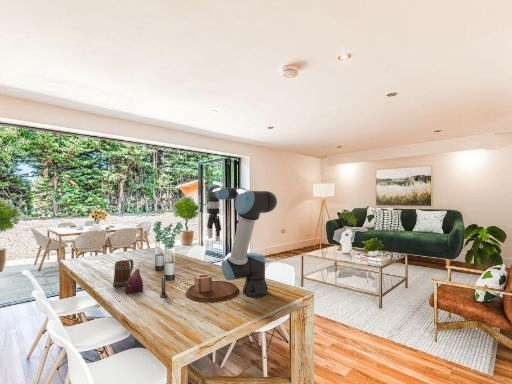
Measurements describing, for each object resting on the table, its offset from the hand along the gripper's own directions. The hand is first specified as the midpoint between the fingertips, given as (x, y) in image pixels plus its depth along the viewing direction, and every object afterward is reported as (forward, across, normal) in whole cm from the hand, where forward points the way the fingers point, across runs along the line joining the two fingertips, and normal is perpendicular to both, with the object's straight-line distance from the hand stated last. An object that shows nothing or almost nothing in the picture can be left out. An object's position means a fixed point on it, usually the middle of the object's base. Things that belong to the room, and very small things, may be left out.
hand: (213, 239), depth 179 cm
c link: (+27, +14, -12) cm, 33 cm away
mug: (+29, -29, -52) cm, 66 cm away
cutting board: (+29, +16, -7) cm, 34 cm away
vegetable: (+29, -10, -48) cm, 57 cm away
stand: (+29, +8, -34) cm, 45 cm away
